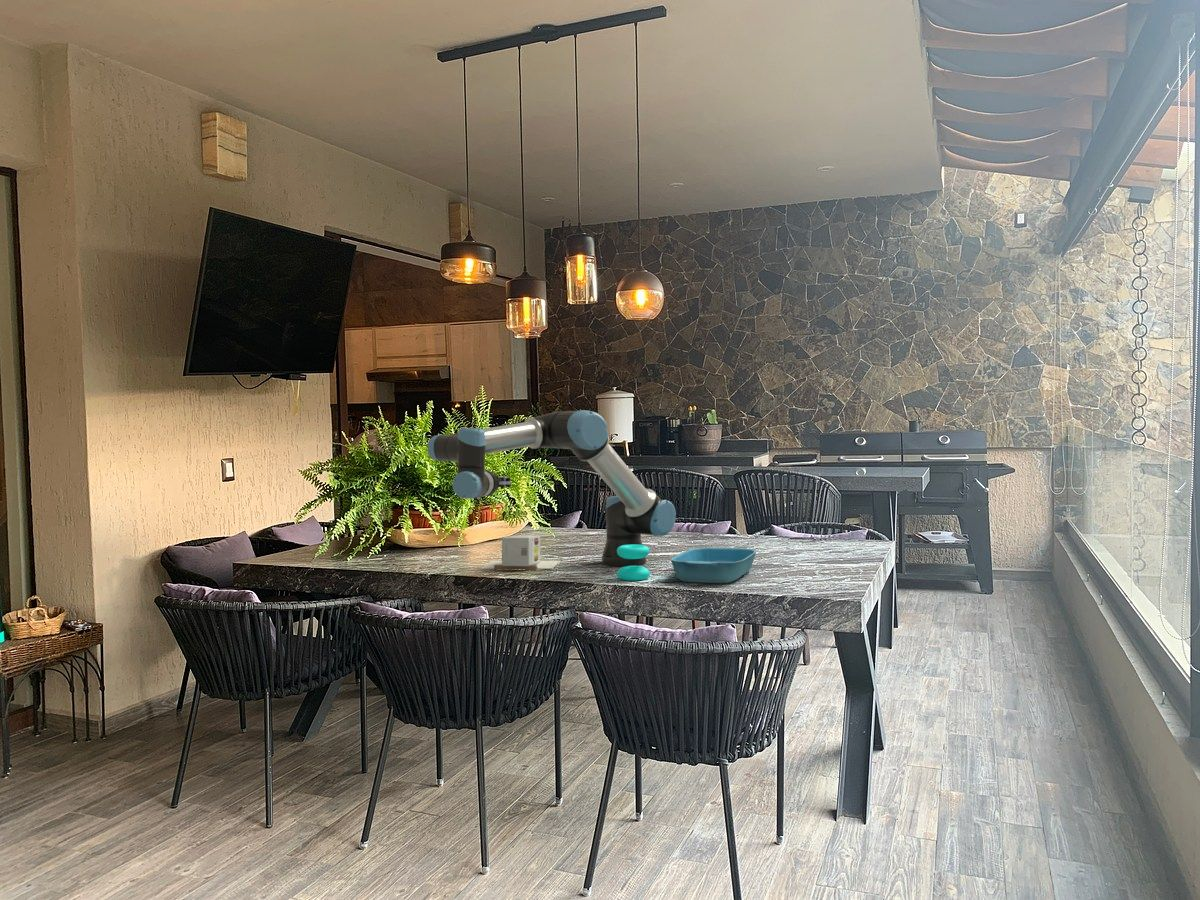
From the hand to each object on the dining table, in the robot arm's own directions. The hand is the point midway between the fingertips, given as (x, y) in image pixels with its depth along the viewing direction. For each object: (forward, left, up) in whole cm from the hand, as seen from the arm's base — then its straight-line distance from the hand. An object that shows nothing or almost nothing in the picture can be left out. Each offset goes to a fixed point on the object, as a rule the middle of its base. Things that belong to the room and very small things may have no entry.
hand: (505, 480), depth 292 cm
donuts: (-40, +1, -30) cm, 50 cm away
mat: (0, -22, -30) cm, 37 cm away
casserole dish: (-64, -5, -31) cm, 71 cm away
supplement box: (0, -10, -24) cm, 26 cm away
